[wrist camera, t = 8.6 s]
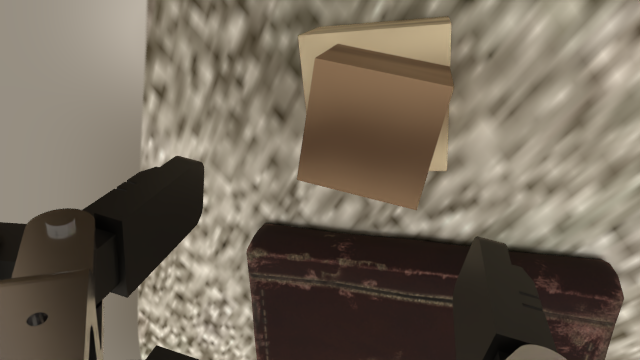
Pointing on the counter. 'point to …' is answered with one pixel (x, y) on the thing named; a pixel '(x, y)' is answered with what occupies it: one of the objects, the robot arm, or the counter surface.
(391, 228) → the counter surface
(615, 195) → the counter surface
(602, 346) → the diary
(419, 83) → the walnut block
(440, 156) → the maple block
